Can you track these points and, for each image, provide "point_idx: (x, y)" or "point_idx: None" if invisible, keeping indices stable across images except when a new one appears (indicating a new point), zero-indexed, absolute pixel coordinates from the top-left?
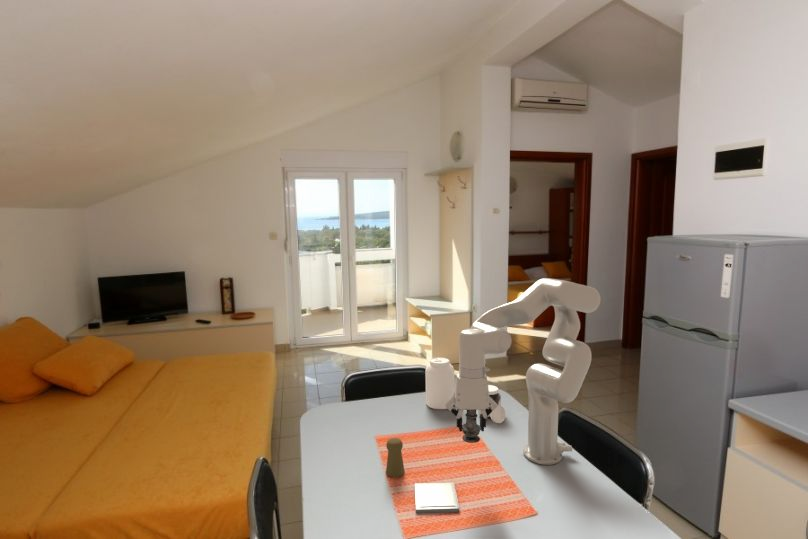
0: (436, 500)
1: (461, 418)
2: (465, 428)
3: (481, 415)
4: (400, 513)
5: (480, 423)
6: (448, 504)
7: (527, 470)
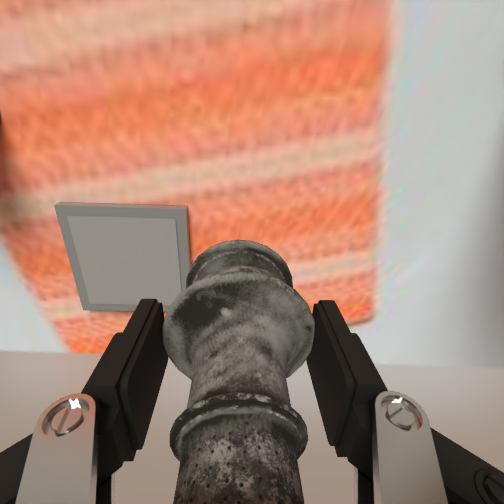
0: (133, 285)
1: (132, 442)
2: (190, 369)
3: (351, 432)
4: (49, 304)
5: (320, 351)
6: (165, 300)
7: (459, 135)
